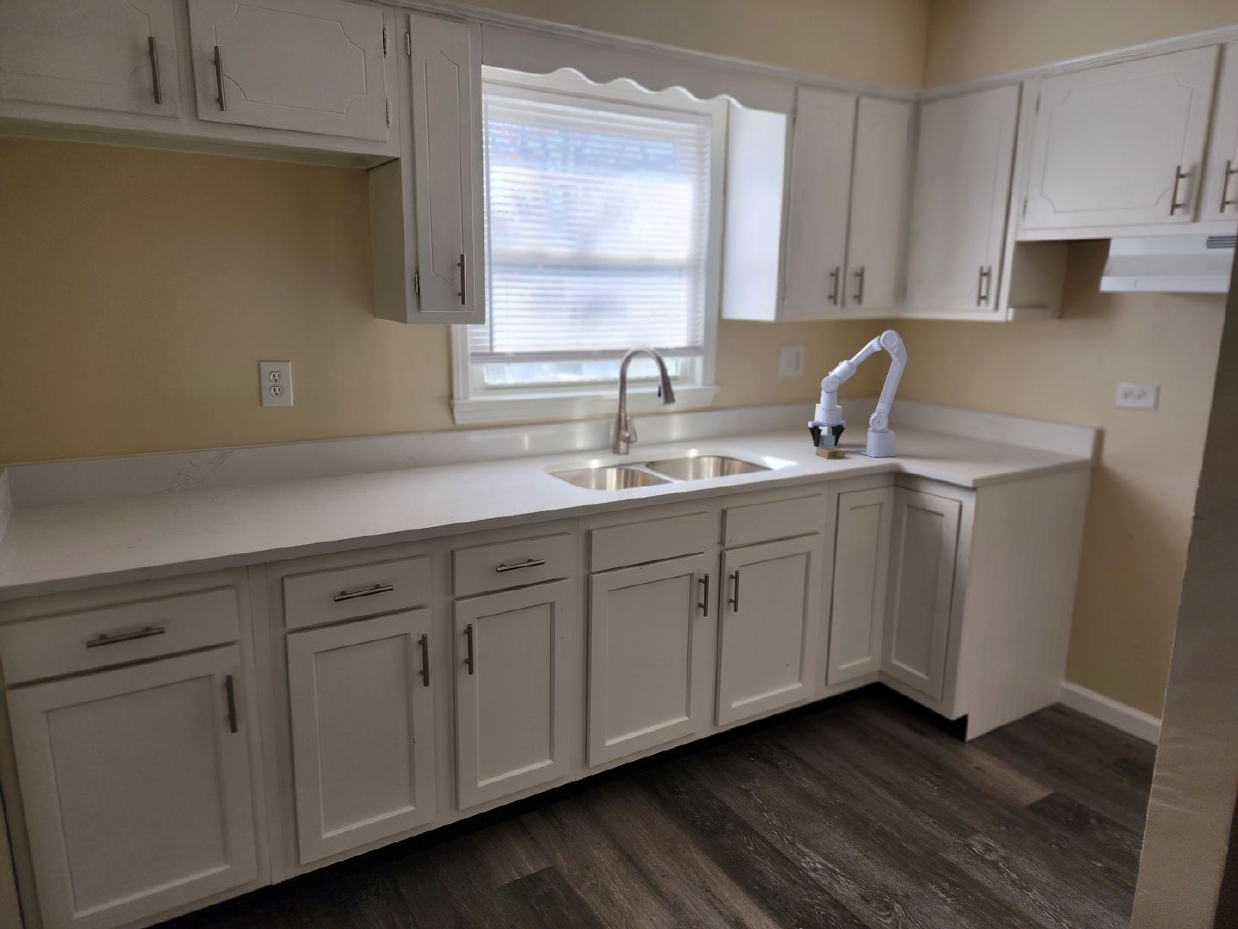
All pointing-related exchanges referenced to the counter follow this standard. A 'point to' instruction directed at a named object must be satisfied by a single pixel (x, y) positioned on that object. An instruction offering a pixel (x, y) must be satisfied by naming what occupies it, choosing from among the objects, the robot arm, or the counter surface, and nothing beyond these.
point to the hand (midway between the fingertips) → (825, 446)
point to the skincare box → (828, 429)
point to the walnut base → (830, 453)
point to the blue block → (826, 441)
